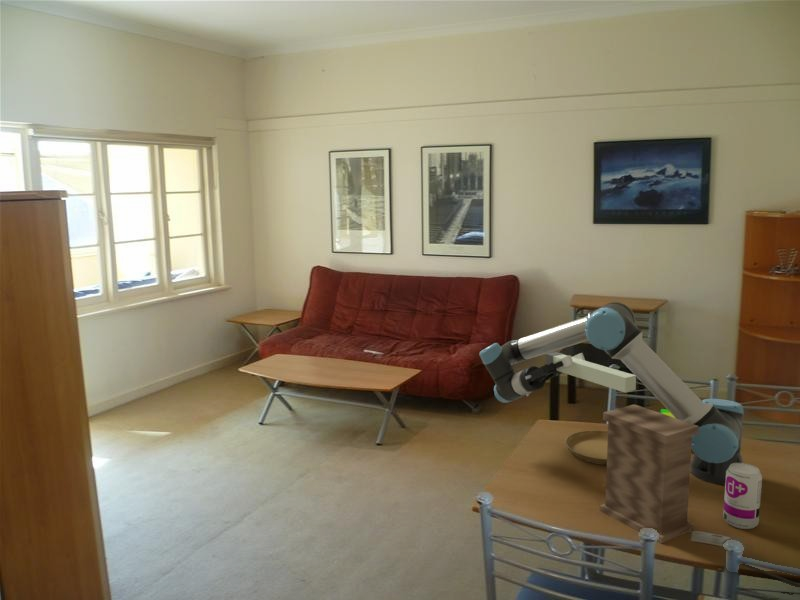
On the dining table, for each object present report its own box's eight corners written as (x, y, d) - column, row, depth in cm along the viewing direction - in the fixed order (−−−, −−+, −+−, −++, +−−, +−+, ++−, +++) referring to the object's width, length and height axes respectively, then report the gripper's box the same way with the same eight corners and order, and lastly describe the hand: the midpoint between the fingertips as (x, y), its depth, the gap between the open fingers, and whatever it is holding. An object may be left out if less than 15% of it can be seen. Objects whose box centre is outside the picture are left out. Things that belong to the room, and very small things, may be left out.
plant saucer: (633, 474, 205) (633, 464, 204) (556, 459, 217) (556, 450, 216) (647, 446, 225) (647, 437, 225) (576, 434, 237) (576, 426, 237)
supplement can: (742, 533, 169) (747, 477, 167) (716, 518, 177) (719, 465, 174) (765, 526, 172) (769, 471, 170) (738, 512, 180) (741, 459, 177)
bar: (545, 367, 201) (545, 353, 200) (555, 365, 203) (556, 351, 202) (624, 393, 175) (625, 377, 174) (635, 390, 177) (636, 375, 177)
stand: (599, 510, 182) (603, 412, 177) (630, 499, 188) (634, 404, 183) (661, 543, 165) (666, 436, 160) (692, 530, 171) (698, 426, 166)
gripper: (553, 387, 214) (602, 366, 195) (511, 396, 206) (559, 375, 186) (545, 365, 216) (593, 342, 197) (504, 373, 208) (550, 350, 189)
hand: (577, 358), depth 192 cm, fingers closed on bar, 4 cm apart
